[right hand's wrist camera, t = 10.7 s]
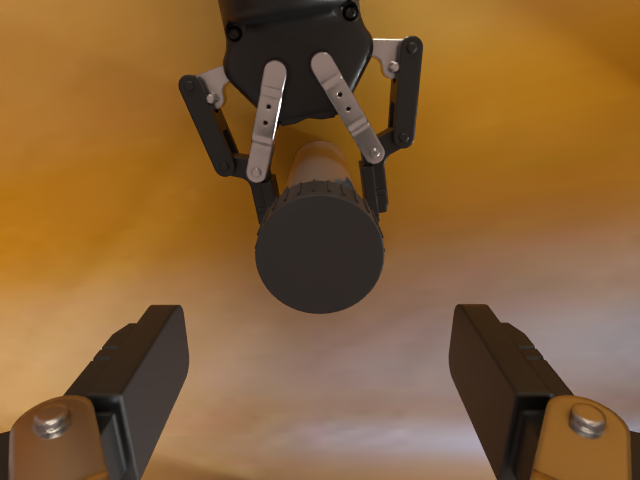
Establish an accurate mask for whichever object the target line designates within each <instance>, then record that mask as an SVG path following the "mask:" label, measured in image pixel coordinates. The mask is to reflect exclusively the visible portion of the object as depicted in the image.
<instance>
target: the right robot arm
mask: <svg viewBox="0 0 640 480" xmlns="http://www.w3.org/2000/svg"><path fill="white" fill-rule="evenodd" d="M543 358H544V357H543V356H542V355H541V354H540V352H539V351H538V350H537V349H535V346H534V345H533V344H532V342H531V341H530V340H529V339H528V337H527V336H526V335H525V334H524V333H523V332H521V331H520V330H518V329H517V328H515V327H514V326H512V325H511V324H509V323H500V321H499V320H498V319H497V317H496V316H495V314H494V313H493V312H492V310H491V309H490V308H489V306H488V305H486V304H458V305H457V306H456V307H455V311H454V317H453V325H452V333H451V341H450V349H449V368H450V373H451V376H452V379H453V381H454V383H455V386H456V388H457V390H458V392H459V395H460V397H461V399H462V401H463V404H464V406H465V408H466V411H467V413H468V415H469V417H470V420H471V422H472V424H473V426H474V429H475V431H476V433H477V435H478V438H479V440H480V442H481V445H482V447H483V449H484V451H485V454H486V456H487V458H488V460H489V463H490V465H491V467H492V469H493V472H494V474H495V476H496V478H497V480H640V433H637V432H633V431H629V428H628V426H627V425H626V423H625V422H624V421H623V420H622V419H621V418H620V417H619V416H618V415H617V414H616V413H615V412H613V411H612V410H610V409H609V408H607V407H605V406H604V405H602V404H600V403H598V402H596V401H593V400H590V399H587V398H584V397H579V396H574V395H573V393H572V392H571V391H570V390H569V388H568V387H567V386H566V385H565V383H564V382H563V381H562V380H561V378H560V377H559V376H558V375H557V373H556V372H555V371H554V370H553V369H552V367H551V366H550V365H549V364H548V362H547V361H546V360H544V359H543ZM93 359H94V360H93V361H91V362H90V363H89V364H88V366H87V367H86V368H85V369H84V371H83V372H82V373H81V374H80V375H79V377H78V378H77V379H76V380H75V382H74V383H73V384H72V385H71V387H70V388H69V389H68V390H67V391H66V393H65V394H64V395H63V396H61V397H56V398H53V399H50V400H47V401H44V402H42V403H40V404H38V405H36V406H35V407H33V408H31V409H30V410H28V411H27V412H25V413H24V414H23V415H22V416H21V417H20V418H19V419H18V420H17V421H16V422H15V423H14V425H13V426H12V428H11V431H8V432H5V433H0V480H141V477H142V475H143V473H144V471H145V468H146V466H147V464H148V462H149V460H150V457H151V455H152V453H153V451H154V448H155V446H156V444H157V442H158V439H159V437H160V435H161V433H162V431H163V428H164V426H165V424H166V422H167V419H168V417H169V415H170V413H171V410H172V408H173V406H174V404H175V401H176V399H177V397H178V395H179V393H180V390H181V388H182V386H183V384H184V381H185V379H186V376H187V373H188V367H189V351H188V343H187V335H186V327H185V320H184V312H183V309H182V307H181V306H180V305H151V306H150V307H149V308H148V309H147V310H146V312H145V313H144V314H143V316H142V317H141V318H140V320H139V321H138V322H137V323H129V324H128V325H126V326H125V327H123V328H122V329H120V330H119V331H117V332H116V333H114V334H113V335H112V336H111V337H110V338H109V340H108V341H107V342H106V343H105V345H104V346H103V347H102V350H100V351H99V352H98V353H97V354H96V356H95V357H94V358H93Z"/></svg>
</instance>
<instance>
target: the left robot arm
mask: <svg viewBox="0 0 640 480" xmlns="http://www.w3.org/2000/svg"><path fill="white" fill-rule="evenodd" d="M218 2H219V7H220V12H221V16H222V21H223V26H224V30H225V35H226V52H225V56H224V60H223V65H222V66H220V67H217V68H215V69H212V70H209V71H207V72H204V73H202V74H199V75H185V76H183V77H182V78H181V79H180V81H179V90H180V92H181V94H182V97H183V99H184V101H185V103H186V106H187V108H188V110H189V112H190V115H191V117H192V119H193V121H194V124H195V126H196V128H197V130H198V133H199V135H200V137H201V139H202V142H203V144H204V146H205V148H206V151H207V153H208V155H209V157H210V160H211V162H212V164H213V166H214V169H215V171H216V172H217V173H218V174H219V175H220V176H223V177H227V176H234V177H240V178H243V179H245V180H246V181H248V183H249V184H250V186H251V189H252V194H253V198H254V203H255V207H256V211H257V216H258V220H259V224H260V225H261V223H262V220H263V219H264V216H265V214H266V211H267V209H268V207H271V206H272V204H273V203H274V201H275V198H276V197H279V196H280V195H279V190H278V185H277V180H276V175H275V174H271V169H270V167H271V163H272V158H273V153H274V149H275V144H276V140H277V137H278V132H279V128H280V124H281V125H282V126H285V125H291V124H296V123H298V122H300V121H302V120H304V119H306V118H314V119H327V118H333V117H335V115H337V114H339V116H340V117H341V119H342V121H343V122H344V124H345V126H346V127H347V129H348V131H349V132H350V134H351V135H352V137H353V139H354V140H355V142H356V144H357V145H358V147H359V149H360V150H361V158H362V160H361V161H359V168H360V175H361V183H362V191H363V198H365V199H366V201H367V204H368V206H369V208H370V210H372V209H373V211H374V214H375V216H376V219H377V221H378V222H379V213H382V212H386V210H387V207H388V196H387V187H386V178H385V168H384V164H385V160H386V158H387V157H388V156H389V155H390V154H392V153H394V152H395V151H397V150H399V149H401V148H407V147H409V146H410V145H411V144H412V143H413V141H414V135H415V125H416V115H417V104H418V94H419V83H420V73H421V62H422V52H423V44H422V41H421V40H420V39H419V38H418V37H416V36H409V37H405V38H403V39H372V37H371V35H370V33H369V31H368V30H367V29H366V27H365V25H364V23H363V21H362V18H361V14H360V7H359V0H218ZM371 57H373V58H375V59H376V60H378V62H379V64H380V68H381V73H382V75H383V76H384V77H385V78H388V79H391V91H390V105H389V118H388V128H387V129H386V130H384V131H382V132H380V133H378V134H377V135H376V134H375V133H374V131H373V129H372V127H371V126H370V124H369V122H368V120H367V118H366V116H365V115H364V113H363V111H362V109H361V108H360V106H359V104H358V103H357V101H356V99H355V97H354V96H353V92H354V90H355V88H356V86H357V84H358V82H359V80H360V78H361V76H362V74H363V73H364V71H365V69H366V67H367V65H368V63H369V61H370V59H371ZM229 83H231V84H232V85H234V86H235V87H236V88H237V89H238V90H239V91H240V92H241V93H242V94H243V95H244V96H245V97H246V98H247V99H248V100H249V101H250V102H251V103H252V104H253V105H254V106H255V107H256V108H257V112H256V117H255V123H254V128H253V133H252V143H251V149H250V154H249V155H247V154H242V153H239V151H238V149H237V146H236V144H235V141H234V139H233V137H232V134H231V132H230V130H229V127H228V125H227V122H226V120H225V118H224V115H223V113H222V110H221V108H222V107H223V106H224V105H225V104H226V101H227V96H226V87H227V85H228V84H229Z"/></svg>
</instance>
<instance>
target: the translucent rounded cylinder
mask: <svg viewBox="0 0 640 480" xmlns="http://www.w3.org/2000/svg"><path fill="white" fill-rule="evenodd" d="M313 179H315V181H327V180H330V182H334V183H338V184H341V183H343V184H344V186H346V187H348V188H349V189H351V190H356V189H355V186H354V183H353V180H352V177H351V174H350V171H349V167H348V164H347V161H346V158H345V156H344V154H343V153H342V151H341V150H340V149H339V148H338V147H337V146H336V145H334V144H332V143H330V142H327V141H313V142H310V143H308V144H306V145H304V146H303V147H302V148H301V149H300V150H299V151H298V152H297V154H296V156H295V158H294V161H293V164H292V167H291V170H290V173H289V176H288V179H287V182H286V185H285V189H284V192H285V191H286V189H287V188H289V189H290V188H292V187H294V186H296V185H299V183H300V182H301V183H305V182H310V181H313ZM284 192H283V193H284ZM356 193H357V192H356Z"/></svg>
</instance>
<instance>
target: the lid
mask: <svg viewBox="0 0 640 480" xmlns="http://www.w3.org/2000/svg"><path fill="white" fill-rule="evenodd" d="M257 235H258V239H257V243H256V245H255V249H256V250H255V258H256V265H257V269H258V272H259V275H260V277H261V279H262V281H263V283H264V285H265V286H266V288H267V289H268V290H269V291H270V292H271V294H272V295H274V296H275V297H276V298H277V299H278V300H279V301H281V302H282V303H284V304H285V305H287V306H289V307H291V308H294V309H296V310H299V311H303V312H307V313H314V314H325V313H333V312H337V311H341V310H344V309H346V308H348V307H351V306H353V305H354V304H356V303H357V302H359V301H360V300H362V299H363V298H364V297H365V296H366V295H367V294H368V293H369V292H370V291H371V290H372V288H373V287H374V286H375V284H376V282H377V281H378V279H379V277H380V274H381V272H382V268H383V264H384V252H385V249H384V245H383V240H382V238H383V234H382V232H381V229H380V227H379V224H378V221H377V219H376V216H375V214H374V211H373V209H372V210H370V208H369V206H368V204H367V201H366V199H365V198H364V199H362V198H361V197H360V196H359V195H358V194H357V193H356V190H351V189H349V188H348V187H346V186H344V184H343V183H341V184H338V183H334V182H330V180H327V181H315V179H313V181H310V182H305V183H301V182H300V183H299V185H296V186H294V187H292V188H290V189H289V188H287V189H286V191H285V192H284V193H283V194H282V195H281V196H279V197H276V198H275V201H274V203H273V204H272V206H271V207H268V209H267V211H266V214H265V216H264V219H263V220H262V223H261V225H260V228H259V230H258V233H257Z"/></svg>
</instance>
